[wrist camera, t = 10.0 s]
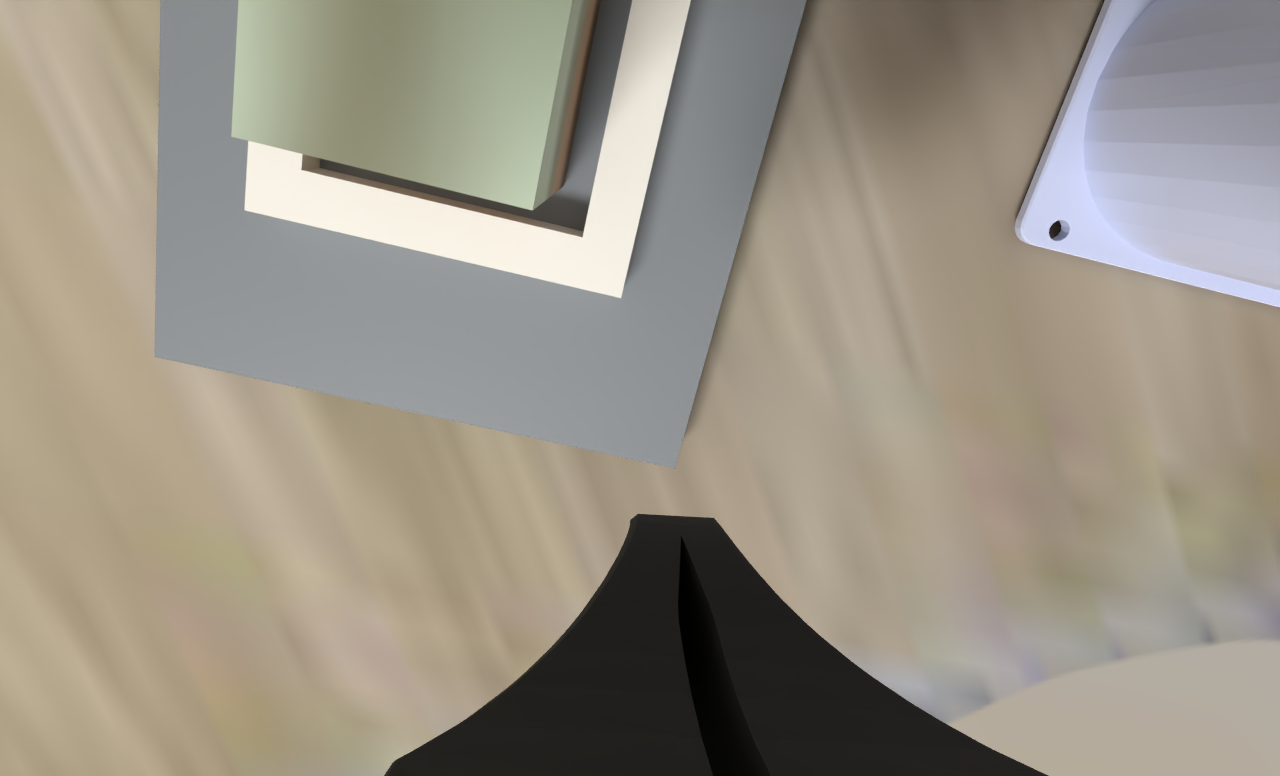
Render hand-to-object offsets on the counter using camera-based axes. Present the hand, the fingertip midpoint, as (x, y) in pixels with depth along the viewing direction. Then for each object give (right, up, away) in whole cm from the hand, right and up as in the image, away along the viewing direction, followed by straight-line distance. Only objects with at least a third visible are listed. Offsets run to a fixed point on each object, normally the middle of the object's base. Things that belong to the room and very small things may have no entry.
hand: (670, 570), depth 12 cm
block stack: (-4, +11, +5) cm, 12 cm away
